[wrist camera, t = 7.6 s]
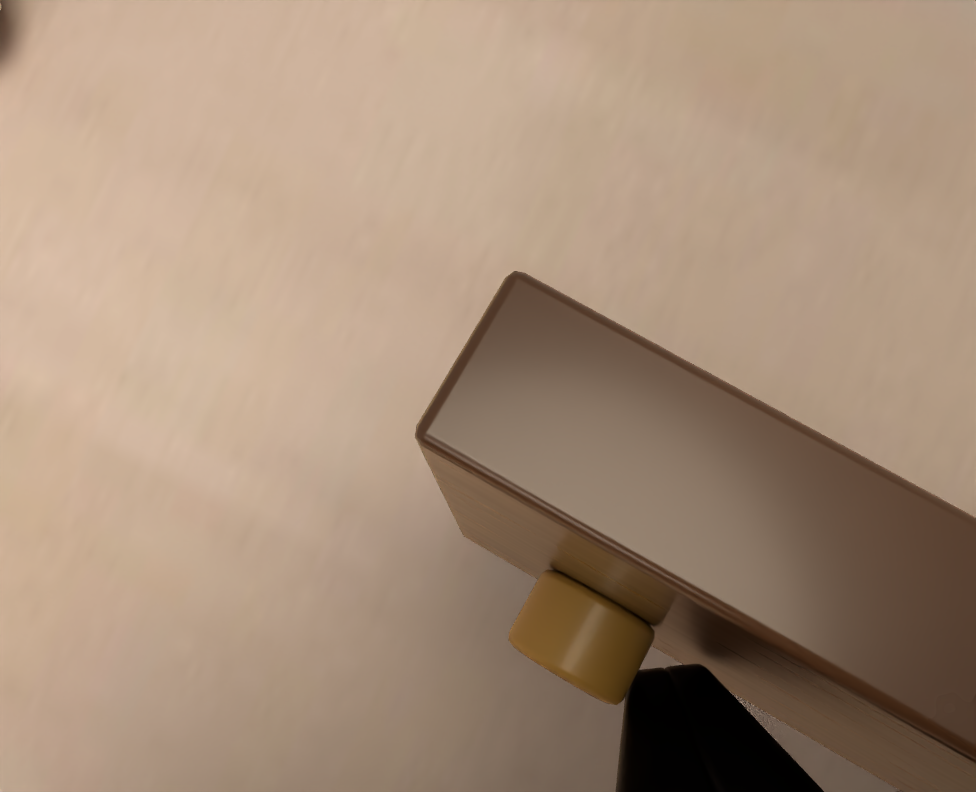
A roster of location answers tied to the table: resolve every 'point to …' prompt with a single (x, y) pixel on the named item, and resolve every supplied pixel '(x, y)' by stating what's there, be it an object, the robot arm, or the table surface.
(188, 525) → the table surface
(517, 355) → the door
